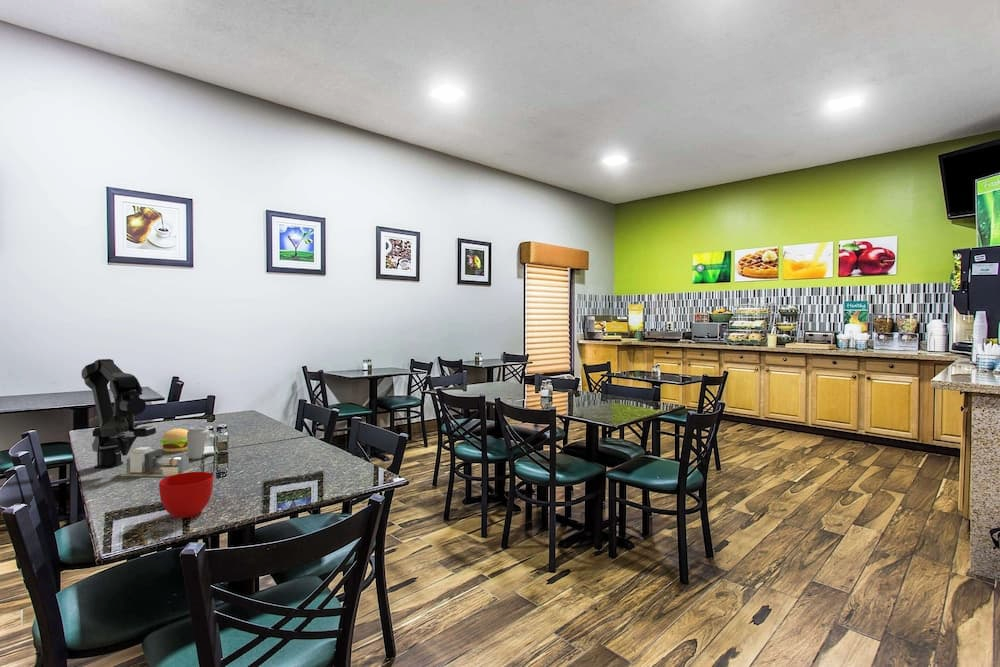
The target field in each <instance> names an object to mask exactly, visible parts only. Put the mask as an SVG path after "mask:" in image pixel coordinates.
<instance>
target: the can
mask: <svg viewBox="0 0 1000 667" xmlns="http://www.w3.org/2000/svg"><path fill="white" fill-rule="evenodd" d="M187 431H188V432H187V450H186V453H187V456H186V457H189V460H196V459H197V460H202V459H201V458H202V455H203V449H204V444H205V441H206V438H207V436H208V435H209V436H210V429H208V426H205V425H201V426H200V425H199V426H192V427H189V428H188V430H187Z"/></svg>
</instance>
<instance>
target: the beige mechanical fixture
mask: <svg viewBox="0 0 1000 667" xmlns="http://www.w3.org/2000/svg"><path fill="white" fill-rule="evenodd" d="M189 460H190V458H189V457H187V456H182V457H163V458H155V457H154V458H153V465H163V467H161V468H159V469H157V470H154V471H152V472H150V473H145V471H144V472H130V457H128V458H126V472H123V473H121V474H119V476H120V477H157V478H158V477H163V478H166V477H169V476H172V475H176V474H181V473H188V472H190V471H191V472H192V471H193V470H194V469H195V467H191V466H190V461H189ZM164 466H165V467H164ZM171 466H175V467H171Z"/></svg>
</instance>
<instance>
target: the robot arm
mask: <svg viewBox="0 0 1000 667" xmlns="http://www.w3.org/2000/svg"><path fill="white" fill-rule="evenodd" d="M114 362H115V361H114V359H111V358H102V359H97V360H94V362H92V363H89V364H87V365H85V366H84V367H83V369H81V379H83V382H84V385H86V386H87V387H88V388H89V389H90V390H91V391H92V395H93V401H94V405H95V408H96V414H97V419H98V424H99V426H98V427H95V428H94V429H93V430H92V437H94V440H93V442H92V444H91V447H92V451H93V452H96V456H97V458H96V462H97V463H96V465H94V466H93V468H98V469H100V468H101V469H102V468H107V469H110V468H114V467H117V466H119V465H122V464H124V463H125V461H122V456H127V455H128V454H129V453H130V450H131V448H132V446H133V444H134V442H135V441H136V439H137V438H146V437H149V436H153V435H155V434H156V433H157V429H156V427H155V426H154V425H143V426H140V427H138V424H135V417H137V416H138V415H139V414H142V413H144V411H145V410H146V408H147V403H146V401H145V400H144V399H143V398H140V396H142V395H143V389H142V385H141V383H140V382H139V380H138V378H137V377H136V376H135V375H134V374H132V373H126V372H123V370H122V369H121V368H120V367H119V366H117V365H116V363H114ZM108 385H109V386H108ZM109 391H111V394H112V398H113V404H114V405H112V400H111V396H110V392H109ZM113 406H114V408H113ZM113 409H114V410H113Z"/></svg>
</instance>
